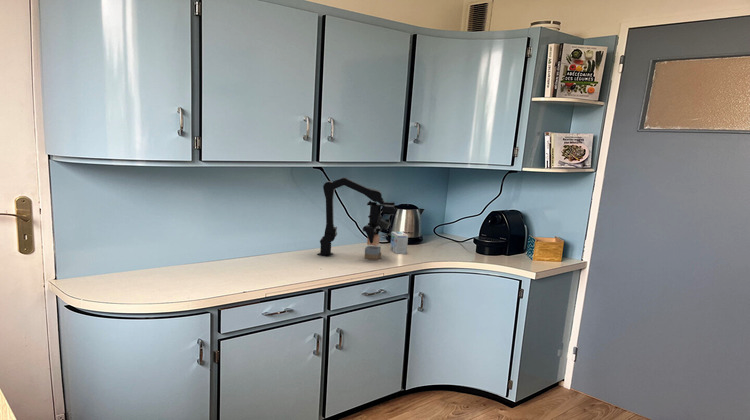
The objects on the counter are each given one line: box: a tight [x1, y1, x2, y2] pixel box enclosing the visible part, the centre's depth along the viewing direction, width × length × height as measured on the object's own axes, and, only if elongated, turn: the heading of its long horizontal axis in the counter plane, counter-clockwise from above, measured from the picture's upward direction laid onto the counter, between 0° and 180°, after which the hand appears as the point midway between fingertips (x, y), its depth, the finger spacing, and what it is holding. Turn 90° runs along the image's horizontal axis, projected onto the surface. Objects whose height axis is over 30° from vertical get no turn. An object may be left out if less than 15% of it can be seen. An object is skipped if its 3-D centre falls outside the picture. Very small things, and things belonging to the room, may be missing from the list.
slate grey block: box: [364, 245, 381, 255], centre depth 268 cm, size 7×7×3 cm
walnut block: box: [364, 251, 382, 261], centre depth 268 cm, size 7×7×3 cm
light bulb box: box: [389, 231, 409, 255], centre depth 285 cm, size 11×7×11 cm, turn 17°
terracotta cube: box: [366, 234, 381, 246], centre depth 267 cm, size 5×5×5 cm
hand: (373, 242), depth 267 cm, fingers closed on terracotta cube, 5 cm apart
